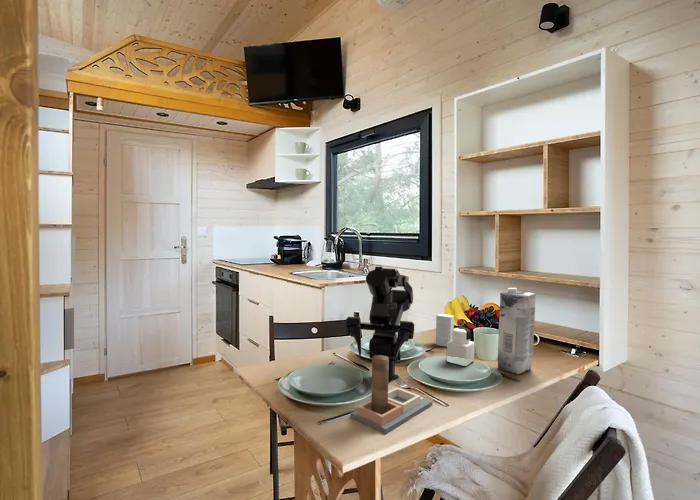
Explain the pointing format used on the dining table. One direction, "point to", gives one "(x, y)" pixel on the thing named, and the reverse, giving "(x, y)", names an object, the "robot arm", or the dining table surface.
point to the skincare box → (444, 329)
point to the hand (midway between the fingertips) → (377, 357)
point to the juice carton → (516, 330)
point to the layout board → (392, 410)
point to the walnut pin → (380, 384)
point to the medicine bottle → (461, 344)
